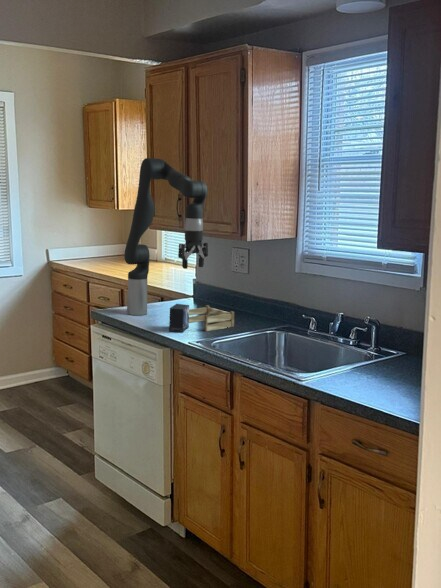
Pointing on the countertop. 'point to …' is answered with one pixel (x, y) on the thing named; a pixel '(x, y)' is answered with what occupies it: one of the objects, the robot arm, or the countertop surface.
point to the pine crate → (212, 318)
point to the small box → (179, 318)
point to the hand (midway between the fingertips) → (192, 267)
